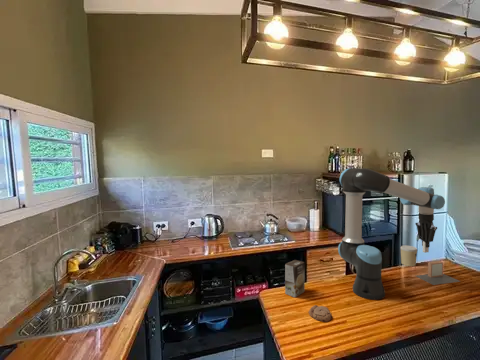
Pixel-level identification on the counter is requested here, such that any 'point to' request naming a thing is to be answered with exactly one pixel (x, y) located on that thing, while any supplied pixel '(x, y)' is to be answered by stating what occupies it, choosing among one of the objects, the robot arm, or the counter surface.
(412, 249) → the coffee cup
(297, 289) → the coffee box
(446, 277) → the slate board
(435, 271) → the tile
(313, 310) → the cookie
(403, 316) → the counter surface
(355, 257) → the robot arm
